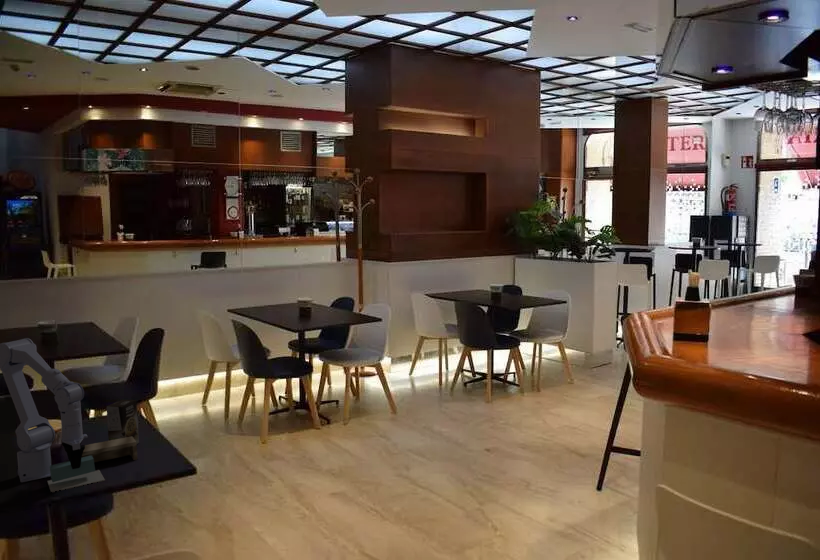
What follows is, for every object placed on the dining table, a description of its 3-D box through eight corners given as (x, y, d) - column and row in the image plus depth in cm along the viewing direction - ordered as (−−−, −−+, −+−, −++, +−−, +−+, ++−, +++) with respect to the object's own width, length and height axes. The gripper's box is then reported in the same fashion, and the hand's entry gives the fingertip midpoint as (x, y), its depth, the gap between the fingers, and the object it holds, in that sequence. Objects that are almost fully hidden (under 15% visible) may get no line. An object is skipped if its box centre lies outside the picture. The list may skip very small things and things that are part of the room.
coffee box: (124, 451, 240) (121, 406, 239) (108, 450, 242) (105, 406, 240) (140, 442, 249) (137, 399, 248) (124, 442, 251) (121, 398, 249)
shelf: (72, 473, 221) (70, 454, 221) (69, 466, 227) (67, 448, 227) (137, 459, 232) (136, 441, 232) (133, 453, 238) (131, 436, 237)
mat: (51, 492, 206) (51, 491, 206) (47, 482, 214) (47, 480, 214) (104, 480, 214) (104, 479, 214) (99, 471, 223) (99, 469, 223)
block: (95, 471, 215) (93, 458, 215) (52, 482, 209) (50, 469, 208) (93, 467, 219) (91, 455, 218) (51, 478, 212) (49, 465, 212)
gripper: (89, 426, 209) (92, 470, 210) (82, 415, 221) (85, 456, 222) (63, 431, 205) (67, 475, 206) (57, 419, 217) (61, 461, 218)
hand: (75, 465), depth 214 cm, fingers closed on block, 4 cm apart
